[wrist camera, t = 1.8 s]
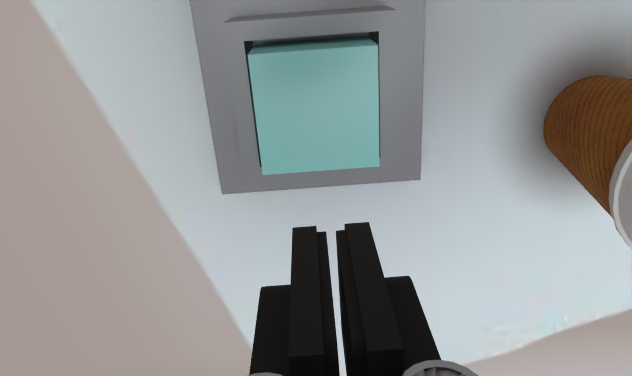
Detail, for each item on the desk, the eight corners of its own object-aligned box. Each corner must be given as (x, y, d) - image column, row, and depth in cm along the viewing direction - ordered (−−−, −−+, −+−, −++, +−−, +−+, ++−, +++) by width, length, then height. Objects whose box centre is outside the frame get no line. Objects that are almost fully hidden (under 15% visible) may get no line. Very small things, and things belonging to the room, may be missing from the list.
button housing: (421, -41, 28) (445, -46, 23) (416, 173, 34) (435, 204, 29) (190, -24, 28) (167, -25, 23) (224, 187, 34) (212, 221, 29)
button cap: (367, 35, 26) (377, 45, 23) (369, 142, 29) (379, 166, 25) (255, 44, 26) (247, 54, 23) (267, 150, 29) (262, 175, 25)
